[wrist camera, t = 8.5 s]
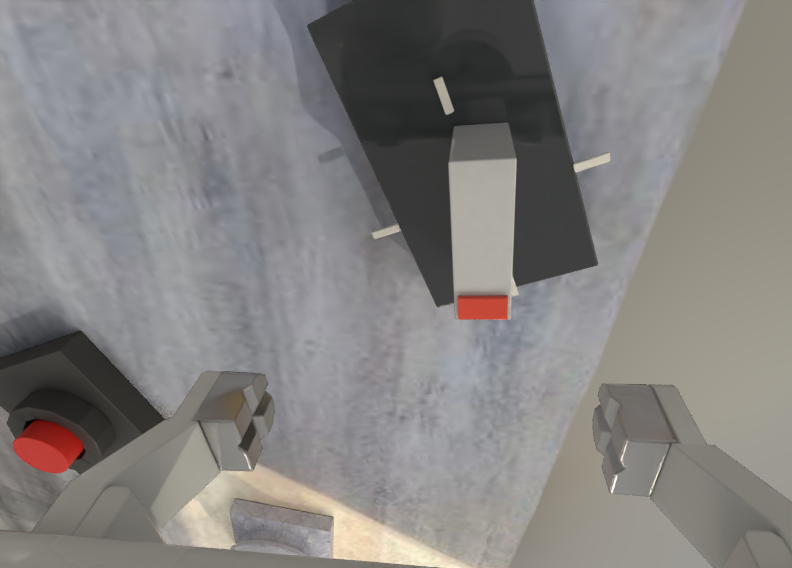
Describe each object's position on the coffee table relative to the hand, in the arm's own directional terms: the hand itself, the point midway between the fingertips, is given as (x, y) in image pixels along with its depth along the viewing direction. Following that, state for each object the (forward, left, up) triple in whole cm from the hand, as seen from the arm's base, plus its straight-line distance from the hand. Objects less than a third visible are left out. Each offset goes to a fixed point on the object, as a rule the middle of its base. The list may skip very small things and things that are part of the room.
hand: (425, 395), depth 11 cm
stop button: (+7, -33, -11) cm, 36 cm away
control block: (+7, -34, -15) cm, 37 cm away
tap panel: (-2, +1, -15) cm, 15 cm away
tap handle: (0, +2, -11) cm, 12 cm away
